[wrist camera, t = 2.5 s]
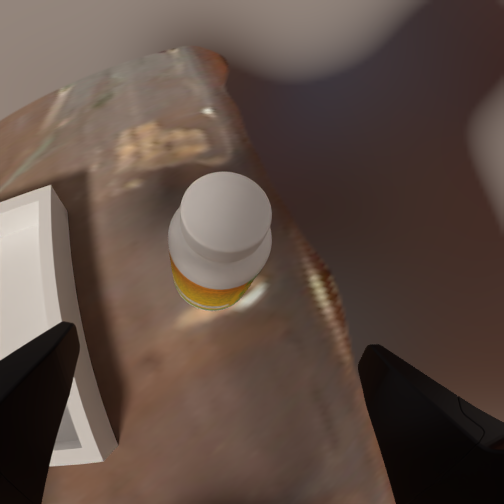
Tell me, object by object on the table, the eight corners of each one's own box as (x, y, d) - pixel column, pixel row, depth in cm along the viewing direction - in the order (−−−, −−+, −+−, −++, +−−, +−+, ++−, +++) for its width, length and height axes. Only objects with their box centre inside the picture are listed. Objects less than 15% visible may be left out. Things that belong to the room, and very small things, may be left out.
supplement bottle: (243, 318, 21) (283, 280, 12) (166, 304, 20) (149, 255, 12) (252, 247, 23) (291, 172, 14) (181, 234, 22) (180, 149, 14)
